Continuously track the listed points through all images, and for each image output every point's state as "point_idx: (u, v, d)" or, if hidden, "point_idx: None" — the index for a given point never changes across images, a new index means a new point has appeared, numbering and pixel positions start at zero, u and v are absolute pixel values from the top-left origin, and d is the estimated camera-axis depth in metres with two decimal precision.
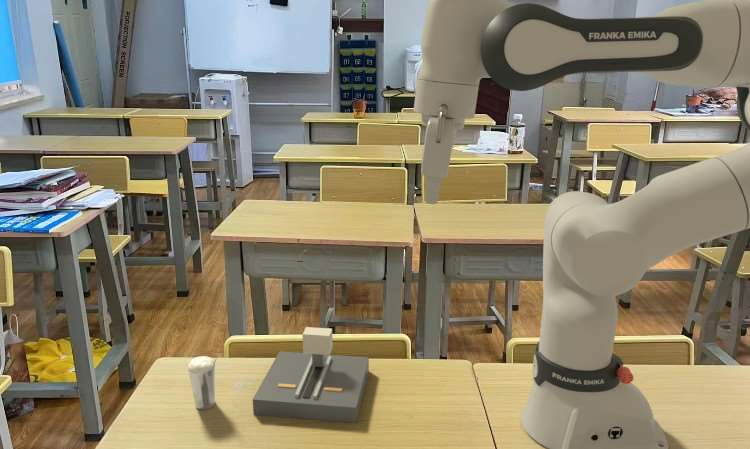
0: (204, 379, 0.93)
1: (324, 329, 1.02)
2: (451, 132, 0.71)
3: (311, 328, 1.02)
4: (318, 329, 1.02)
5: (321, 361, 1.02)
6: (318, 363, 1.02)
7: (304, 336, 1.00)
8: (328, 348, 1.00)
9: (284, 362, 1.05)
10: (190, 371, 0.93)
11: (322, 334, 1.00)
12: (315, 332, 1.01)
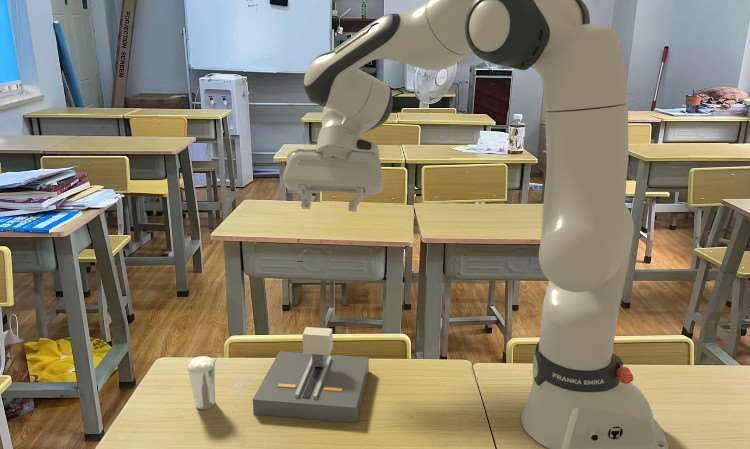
0: (204, 379, 0.93)
1: (324, 329, 1.02)
2: (290, 156, 1.12)
3: (311, 328, 1.02)
4: (318, 329, 1.02)
5: (321, 361, 1.02)
6: (318, 363, 1.02)
7: (304, 336, 1.00)
8: (328, 348, 1.00)
9: (284, 362, 1.05)
10: (190, 371, 0.93)
11: (322, 334, 1.00)
12: (315, 332, 1.01)
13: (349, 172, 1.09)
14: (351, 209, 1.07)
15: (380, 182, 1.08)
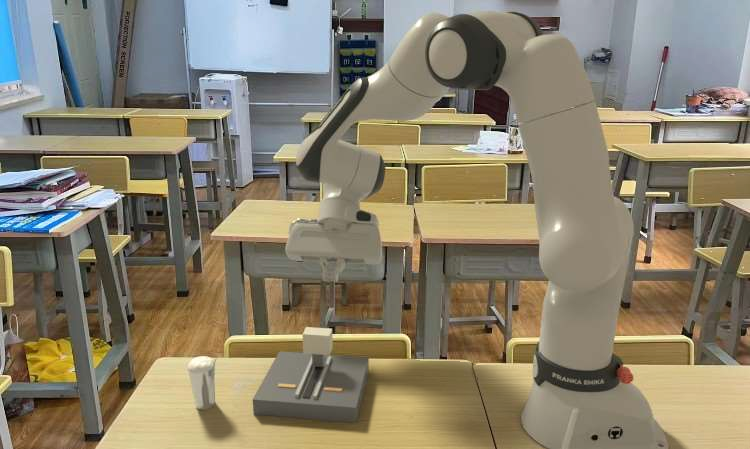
0: (204, 379, 0.93)
1: (324, 329, 1.02)
2: (292, 228, 1.16)
3: (311, 328, 1.02)
4: (318, 329, 1.02)
5: (321, 361, 1.02)
6: (318, 363, 1.02)
7: (304, 336, 1.00)
8: (328, 348, 1.00)
9: (284, 362, 1.05)
10: (190, 371, 0.93)
11: (322, 334, 1.00)
12: (315, 332, 1.01)
13: (350, 243, 1.12)
14: (332, 280, 1.11)
15: (379, 254, 1.11)
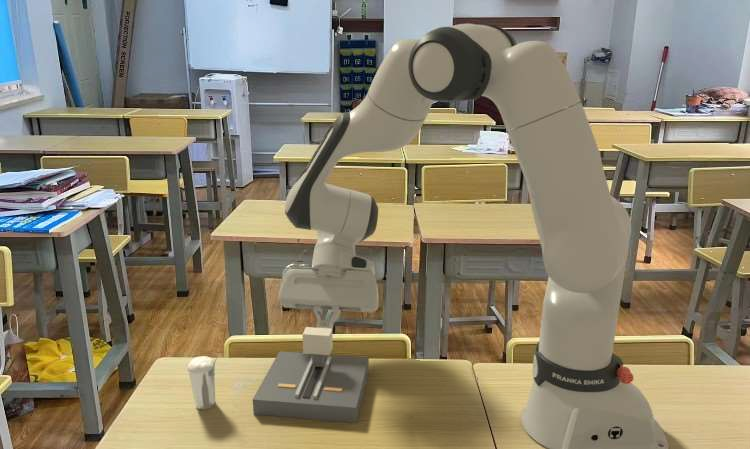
0: (204, 379, 0.93)
1: (324, 329, 1.02)
2: (285, 274, 1.12)
3: (311, 328, 1.02)
4: (318, 329, 1.02)
5: (321, 361, 1.02)
6: (318, 363, 1.02)
7: (304, 336, 1.00)
8: (328, 348, 1.00)
9: (284, 362, 1.05)
10: (190, 371, 0.93)
11: (322, 334, 1.00)
12: (315, 332, 1.01)
13: (345, 291, 1.09)
14: None
15: (375, 302, 1.07)
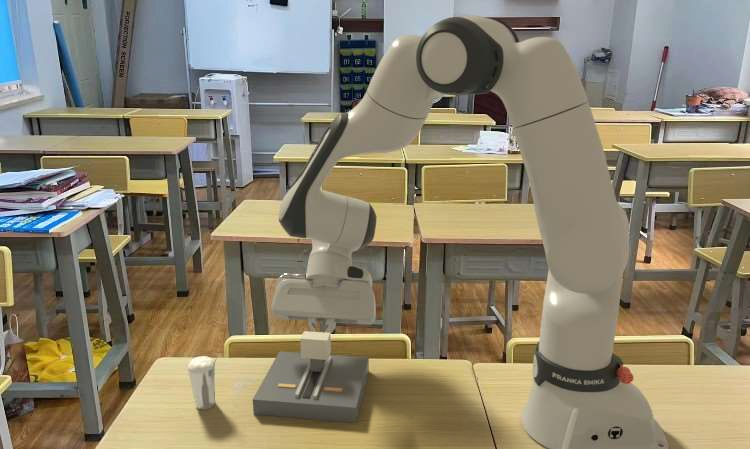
0: (204, 379, 0.93)
1: (322, 333, 1.00)
2: (279, 284, 1.07)
3: (309, 332, 1.01)
4: (316, 333, 1.00)
5: (319, 366, 1.01)
6: (316, 368, 1.01)
7: (302, 340, 0.99)
8: (326, 353, 0.99)
9: (284, 362, 1.05)
10: (190, 371, 0.93)
11: (320, 339, 0.99)
12: (313, 337, 0.99)
13: (340, 302, 1.04)
14: None
15: (372, 314, 1.02)
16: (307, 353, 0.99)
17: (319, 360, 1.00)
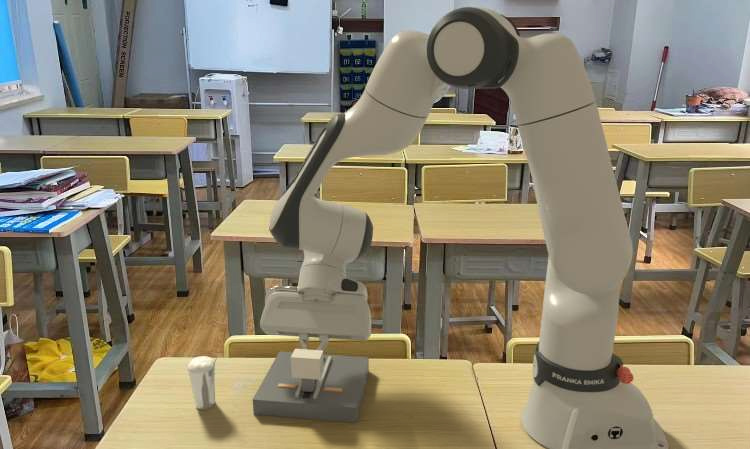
0: (204, 379, 0.93)
1: (314, 351, 0.94)
2: (268, 297, 1.01)
3: (300, 350, 0.95)
4: (308, 351, 0.94)
5: (311, 386, 0.95)
6: (308, 388, 0.95)
7: (292, 359, 0.93)
8: (318, 372, 0.93)
9: (284, 362, 1.05)
10: (190, 371, 0.93)
11: (312, 357, 0.93)
12: (304, 355, 0.93)
13: (334, 317, 0.98)
14: None
15: (368, 330, 0.96)
16: (298, 372, 0.93)
17: (311, 380, 0.94)
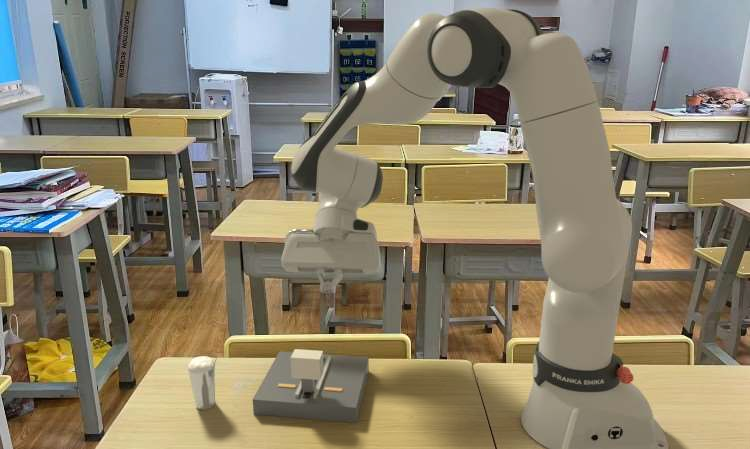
0: (204, 379, 0.93)
1: (314, 351, 0.94)
2: (288, 238, 1.13)
3: (300, 350, 0.95)
4: (308, 351, 0.94)
5: (311, 386, 0.94)
6: (308, 388, 0.95)
7: (292, 359, 0.93)
8: (318, 372, 0.93)
9: (284, 362, 1.05)
10: (190, 371, 0.93)
11: (312, 357, 0.92)
12: (304, 356, 0.93)
13: (347, 253, 1.10)
14: (329, 291, 1.08)
15: (377, 263, 1.08)
16: (298, 373, 0.93)
17: (311, 380, 0.94)
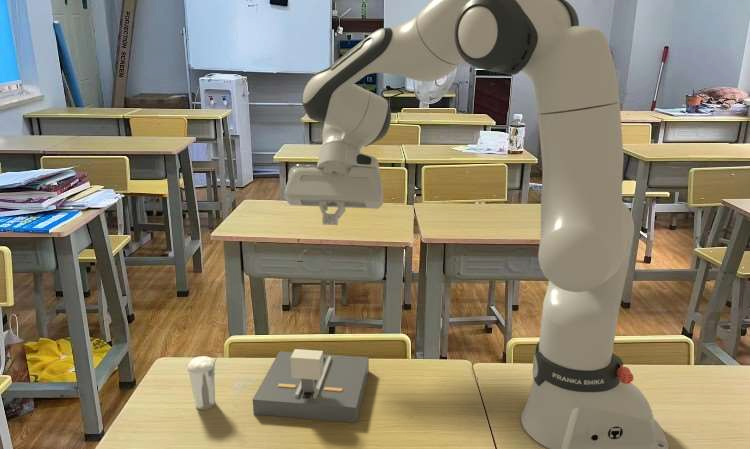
0: (204, 379, 0.93)
1: (314, 351, 0.94)
2: (291, 172, 1.14)
3: (300, 350, 0.95)
4: (308, 351, 0.94)
5: (311, 386, 0.94)
6: (308, 388, 0.95)
7: (292, 359, 0.93)
8: (318, 372, 0.93)
9: (284, 362, 1.05)
10: (190, 371, 0.93)
11: (312, 357, 0.92)
12: (304, 356, 0.93)
13: (350, 186, 1.10)
14: (332, 222, 1.09)
15: (380, 196, 1.09)
16: (298, 373, 0.93)
17: (311, 380, 0.94)
